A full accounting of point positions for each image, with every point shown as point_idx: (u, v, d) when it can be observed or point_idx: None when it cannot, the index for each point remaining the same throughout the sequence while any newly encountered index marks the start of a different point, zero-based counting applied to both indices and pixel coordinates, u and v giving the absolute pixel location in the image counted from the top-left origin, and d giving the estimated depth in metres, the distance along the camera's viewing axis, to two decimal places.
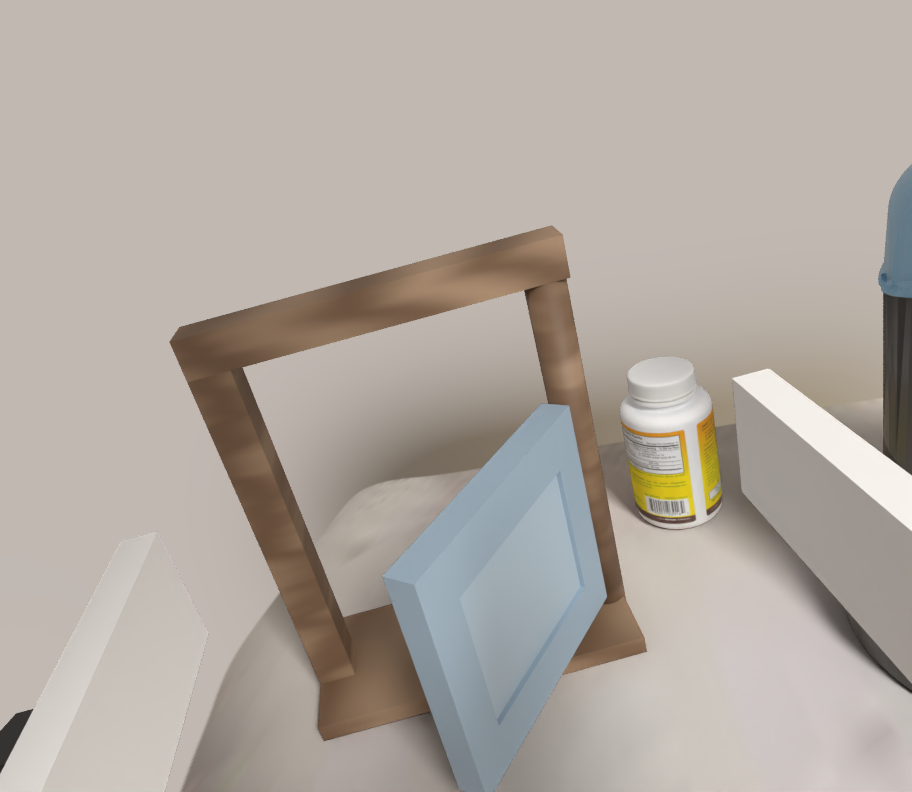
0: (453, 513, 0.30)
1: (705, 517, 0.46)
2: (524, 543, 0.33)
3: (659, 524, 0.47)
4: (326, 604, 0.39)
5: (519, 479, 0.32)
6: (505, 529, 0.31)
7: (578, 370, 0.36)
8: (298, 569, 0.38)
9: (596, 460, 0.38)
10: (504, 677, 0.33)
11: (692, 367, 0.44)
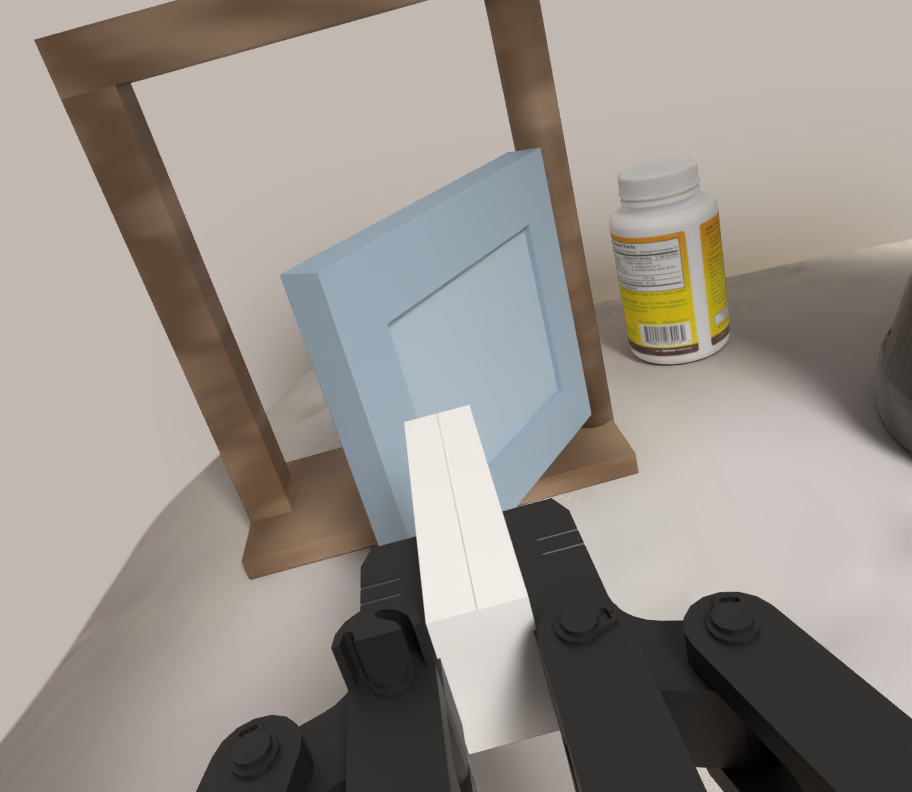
0: (382, 225, 0.23)
1: (709, 347, 0.40)
2: (481, 299, 0.27)
3: (656, 359, 0.40)
4: (253, 417, 0.33)
5: (472, 206, 0.25)
6: (453, 263, 0.25)
7: (552, 105, 0.29)
8: (216, 368, 0.32)
9: (576, 233, 0.31)
10: None
11: (694, 160, 0.37)
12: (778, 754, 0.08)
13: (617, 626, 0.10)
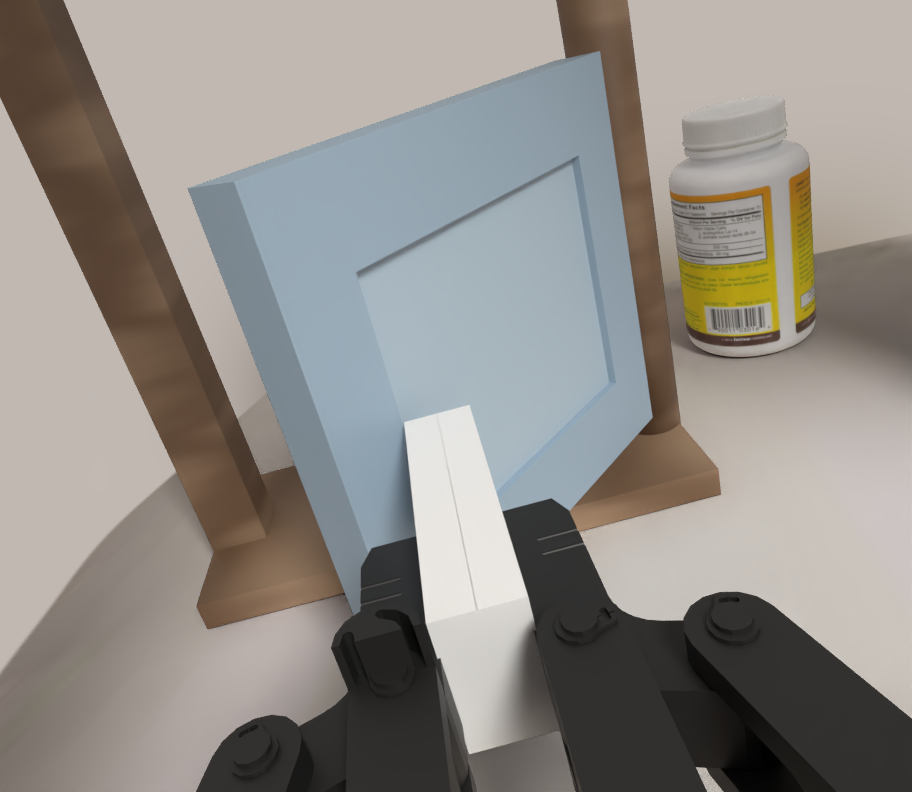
0: (360, 131, 0.16)
1: (793, 335, 0.32)
2: (506, 252, 0.19)
3: (724, 350, 0.33)
4: (215, 415, 0.25)
5: (497, 118, 0.18)
6: (465, 195, 0.17)
7: None
8: (164, 349, 0.24)
9: (645, 175, 0.23)
10: None
11: (782, 98, 0.30)
12: (778, 754, 0.08)
13: (617, 626, 0.10)
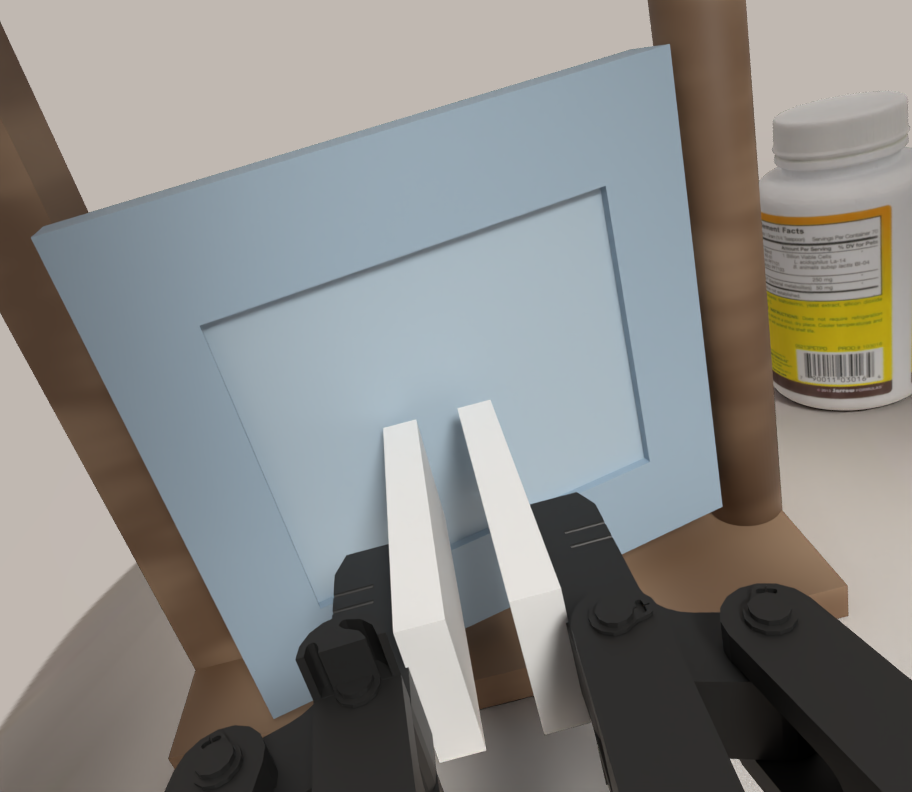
0: (253, 165, 0.14)
1: (907, 386, 0.26)
2: (461, 303, 0.16)
3: (820, 402, 0.27)
4: None
5: (446, 147, 0.15)
6: (380, 241, 0.15)
7: None
8: (124, 431, 0.18)
9: (756, 200, 0.18)
10: (361, 534, 0.17)
11: (904, 94, 0.24)
12: (814, 744, 0.08)
13: (652, 618, 0.10)
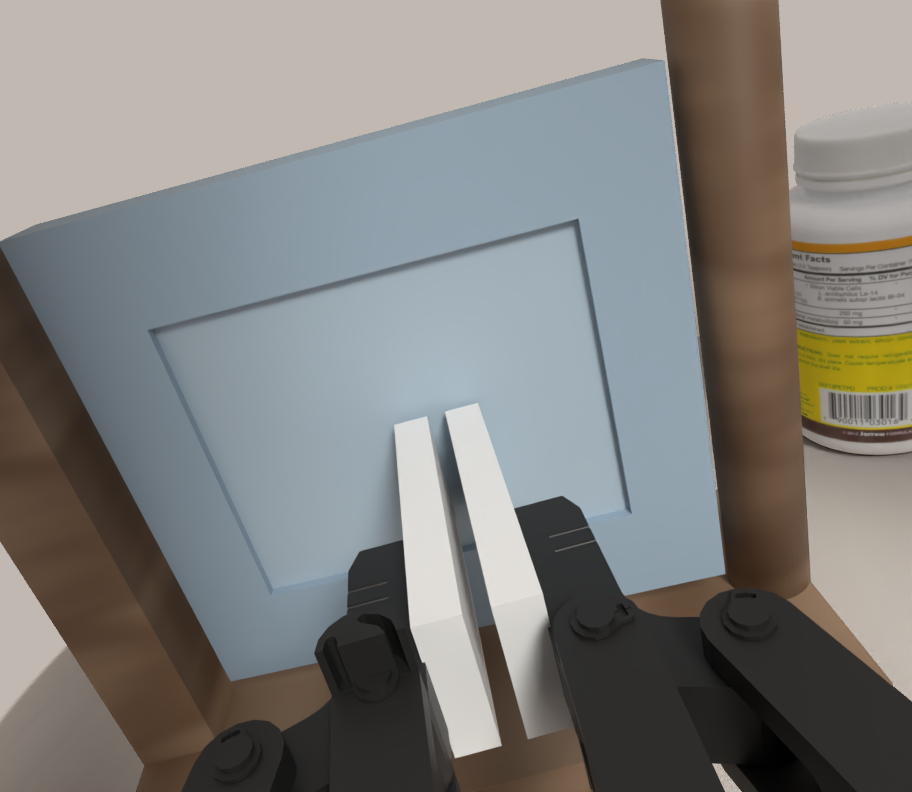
0: (208, 180, 0.15)
1: None
2: (413, 329, 0.16)
3: (846, 445, 0.24)
4: (133, 594, 0.17)
5: (390, 173, 0.14)
6: (320, 264, 0.15)
7: None
8: (49, 508, 0.16)
9: (787, 238, 0.15)
10: (313, 535, 0.18)
11: None
12: (794, 749, 0.08)
13: (634, 622, 0.10)
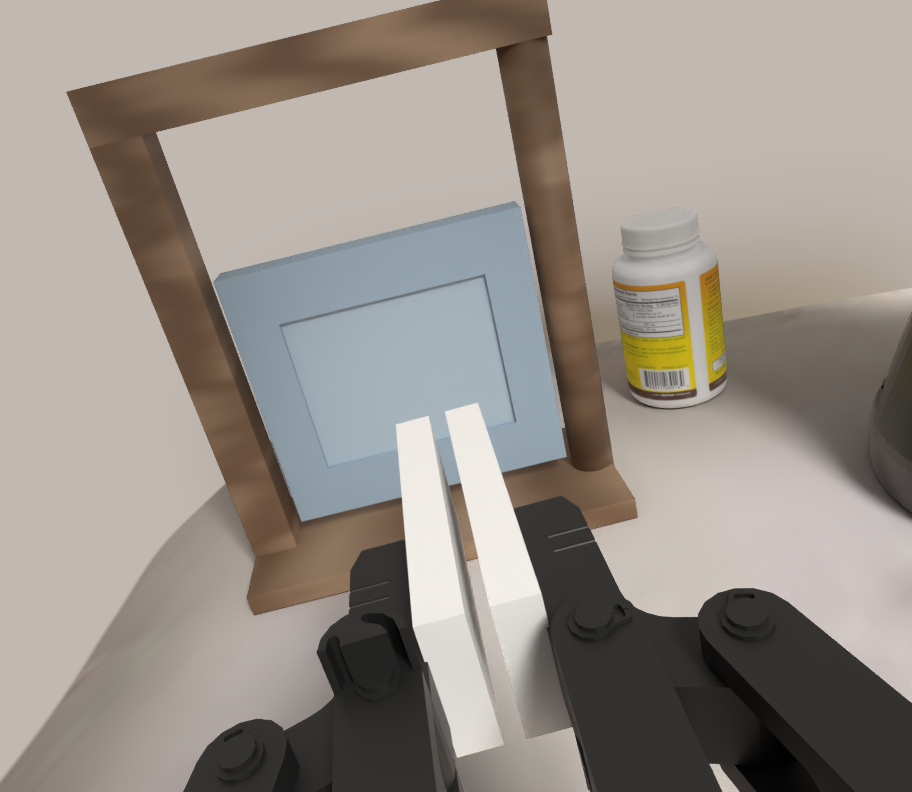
0: (310, 253, 0.31)
1: (707, 392, 0.41)
2: (407, 325, 0.32)
3: (655, 402, 0.41)
4: (262, 454, 0.33)
5: (398, 252, 0.31)
6: (364, 293, 0.31)
7: (561, 163, 0.30)
8: (227, 406, 0.32)
9: (581, 284, 0.32)
10: (351, 434, 0.34)
11: (695, 212, 0.39)
12: (792, 750, 0.08)
13: (631, 623, 0.10)
